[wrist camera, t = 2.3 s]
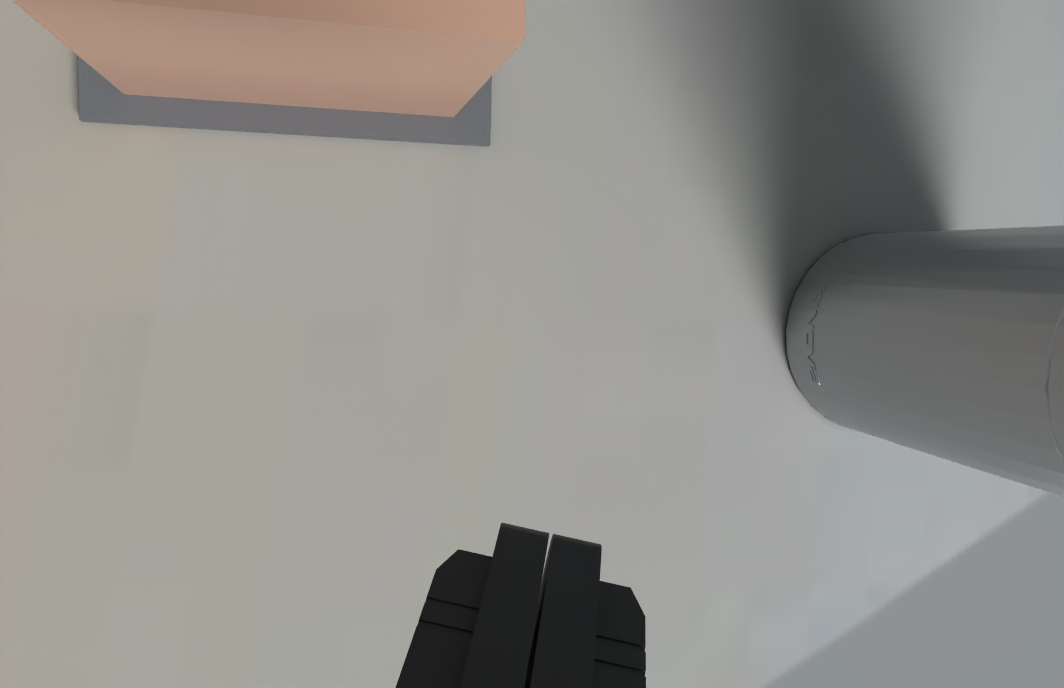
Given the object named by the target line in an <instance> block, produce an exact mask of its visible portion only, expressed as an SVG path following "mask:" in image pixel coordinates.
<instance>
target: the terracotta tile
mask: <svg viewBox="0 0 1064 688" xmlns="http://www.w3.org/2000/svg"><path fill="white" fill-rule="evenodd" d="M12 1H13V2H14V3H16V4H17V5H18V6H19V7H20V8H22V9H23V10H24V11H25V12H26V13H28V14H29V15H30V16H31V17H32V18H33V19H35V20H36V21H37V22H38V23H39V24H41V25H42V26H43V27H44V28H45V29H47V30H48V31H49V32H50V33H51V34H53V35H54V36H55V37H56V38H57V39H59V40H60V41H61V42H62V43H63V44H65V45H66V46H67V47H68V48H69V49H71V50H72V51H73V52H74V53H75V54H77V55H78V56H79V57H80V58H81V59H83V60H84V61H85V62H86V63H87V64H89V65H90V66H91V67H92V68H93V69H95V70H96V71H97V72H98V73H99V74H101V75H102V76H103V77H104V78H105V79H107V80H108V81H109V82H110V83H111V84H112V85H114V86H115V87H116V88H117V89H118V90H120V91H121V92H122V93H123V94H126V95H141V96H155V97H169V98H184V99H198V100H213V101H227V102H241V103H256V104H270V105H285V106H299V107H313V108H328V109H342V110H357V111H371V112H385V113H400V114H414V115H429V116H443V117H454V116H455V115H456V114H457V113H458V112H459V111H460V110H461V109H462V108H463V106H464V105H465V104H466V103H467V102H468V101H469V100H470V99H471V98H472V97H473V96H474V95H475V93H476V92H477V91H478V90H479V89H480V88H481V87H482V86H483V85H484V84H485V83H486V82H487V80H488V79H489V78H490V77H491V76H492V75H493V74H494V73H495V72H496V71H497V70H498V69H499V67H500V66H501V65H502V64H503V63H504V62H505V61H506V60H507V59H508V58H509V57H510V56H511V54H512V53H513V52H514V51H515V50H516V49H517V48H518V47H519V46H520V45H521V44H522V43H523V41H524V40H525V3H526V0H12Z"/></svg>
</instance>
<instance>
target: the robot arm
mask: <svg viewBox="0 0 1064 688" xmlns="http://www.w3.org/2000/svg"><path fill="white" fill-rule="evenodd" d="M786 342H787V356H788V360H789V364H790V368H791V372H792V375H793V377H794V379H795V381H796V383H797V386H798V388H799V390H800V392H801V393H802V394H803V396H804V397H805V398H806V399H807V401H808V402H809V403H810V405H811V406H812V407H813V408H814V409H816V410H817V411H818V412H819V413H820V414H822V415H823V416H824V417H825V418H827V419H829V420H831V421H833V422H835V423H837V424H839V425H842V426H844V427H847V428H851V429H854V430H857V431H860V432H863V433H866V434H869V435H872V436H876V437H879V438H882V439H885V440H888V441H891V442H894V443H896V444H899V445H903V446H906V447H909V448H912V449H915V450H918V451H921V452H925V453H928V454H931V455H934V456H937V457H940V458H943V459H947V460H950V461H953V462H956V463H959V464H962V465H965V466H969V467H972V468H975V469H978V470H981V471H984V472H987V473H991V474H994V475H997V476H1000V477H1003V478H1006V479H1009V480H1013V481H1016V482H1019V483H1022V484H1025V485H1028V486H1031V487H1035V488H1038V489H1041V490H1044V491H1047V492H1050V493H1053V494H1057V495H1060V496H1063V497H1064V226H1043V227H1021V228H998V229H976V230H954V231H923V232H902V233H880V234H869V235H864V236H859V237H854V238H852V239H849V240H847V241H845V242H843V243H840V244H838V245H836V246H835V247H834V248H832V249H831V250H830V251H828V252H827V253H826V254H824V255H823V256H822V257H820V258H819V260H818V261H817V262H816V263H815V264H814V265H813V266H812V268H811V269H810V270H809V271H808V272H807V273H806V275H805V277H804V279H803V280H802V282H801V284H800V286H799V287H798V289H797V291H796V293H795V296H794V299H793V302H792V305H791V308H790V311H789V316H788V323H787V330H786ZM548 538H549V533H546V532H541V531H537V530H533V529H528V528H524V527H519V526H515V525H510V524H506V523H501V526H500V530H499V534H498V538H497V542H496V546H495V549H494V553H493V557H490V556H486V555H481V554H477V553H472V552H468V551H463V550H459V549H458V550H457V551H456V552H455V553H454V554H453V555H452V556H451V557H449V558H448V559H447V560H446V561H445V562H444V563H443V564H442V565H441V566H440V567H439V568H437V569H436V572H435V575H434V578H433V580H432V583H431V586H430V589H429V592H428V595H427V599H426V602H425V604H424V607H423V610H422V612H421V615H420V618H419V622H418V625H417V627H416V630H415V633H414V636H413V639H412V642H411V645H410V647H409V650H408V653H407V656H406V659H405V662H404V665H403V668H402V671H401V674H400V677H399V679H398V682H397V685H396V688H646V677H645V671H646V654H645V615H644V613H643V611H642V609H641V607H640V605H639V603H638V601H637V599H636V597H635V595H634V594H633V592H632V590H631V588H629V587H625V586H620V585H616V584H611V583H607V582H603V581H600V565H601V549H602V548H601V544H596V543H592V542H587V541H583V540H578V539H574V538H569V537H565V536H560V535H556V534H553V536H552V539H551V543H550V547H549V551H548V556H547V560H546V564H545V568H544V563H545V556H546V550H547V544H548ZM543 569H544V572H543ZM542 575H543V577H542Z"/></svg>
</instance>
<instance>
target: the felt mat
mask: <svg viewBox="0 0 1064 688" xmlns="http://www.w3.org/2000/svg"><path fill="white" fill-rule="evenodd" d="M491 81H492V76H491V77H490V78H489V79H488V80H487V82H486V83H485V84H484V85H483V86H482V87H481V88H480V89H479V90H478V91H477V92H476V93H475V95H474V96H473V97H472V98H471V99H470V100H469V101H468V102H467V103H466V104H465V105H464V106H463V108H462V109H461V110H460V111H459V112H458V113H457V114H456V115H455V116H454V117H443V116H429V115H414V114H400V113H385V112H371V111H357V110H342V109H328V108H313V107H299V106H285V105H270V104H256V103H241V102H227V101H213V100H198V99H184V98H169V97H155V96H141V95H126V94H123V93H122V92H121V91H120V90H118V89H117V88H116V87H115V86H114V85H112V84H111V83H110V82H109V81H108V80H107V79H105V78H104V77H103V76H102V75H101V74H99V73H98V72H97V71H96V70H95V69H93V68H92V67H91V66H90V65H89V64H87V63H86V62H85V61H84V60H83V59H81V58H80V57H79V56H78V88H79V120H81V121H82V122H98V123H114V124H130V125H147V126H163V127H179V128H196V129H212V130H228V131H245V132H261V133H277V134H293V135H310V136H326V137H342V138H359V139H375V140H391V141H408V142H424V143H440V144H456V145H473V146H490V129H491Z"/></svg>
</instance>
